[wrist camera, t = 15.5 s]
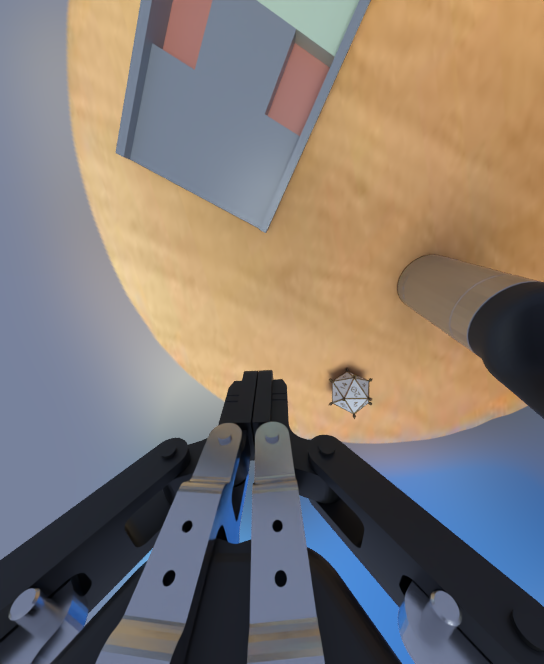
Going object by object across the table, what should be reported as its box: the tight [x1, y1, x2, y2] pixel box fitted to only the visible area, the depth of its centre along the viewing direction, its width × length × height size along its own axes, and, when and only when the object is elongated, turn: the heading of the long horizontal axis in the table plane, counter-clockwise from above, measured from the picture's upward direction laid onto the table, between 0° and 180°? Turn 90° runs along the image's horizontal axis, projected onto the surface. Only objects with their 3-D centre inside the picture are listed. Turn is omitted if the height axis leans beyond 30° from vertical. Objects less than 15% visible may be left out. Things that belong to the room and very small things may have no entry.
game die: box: [329, 368, 372, 419], centre depth 47 cm, size 9×8×10 cm
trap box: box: [116, 0, 371, 233], centre depth 27 cm, size 33×21×5 cm, turn 154°
